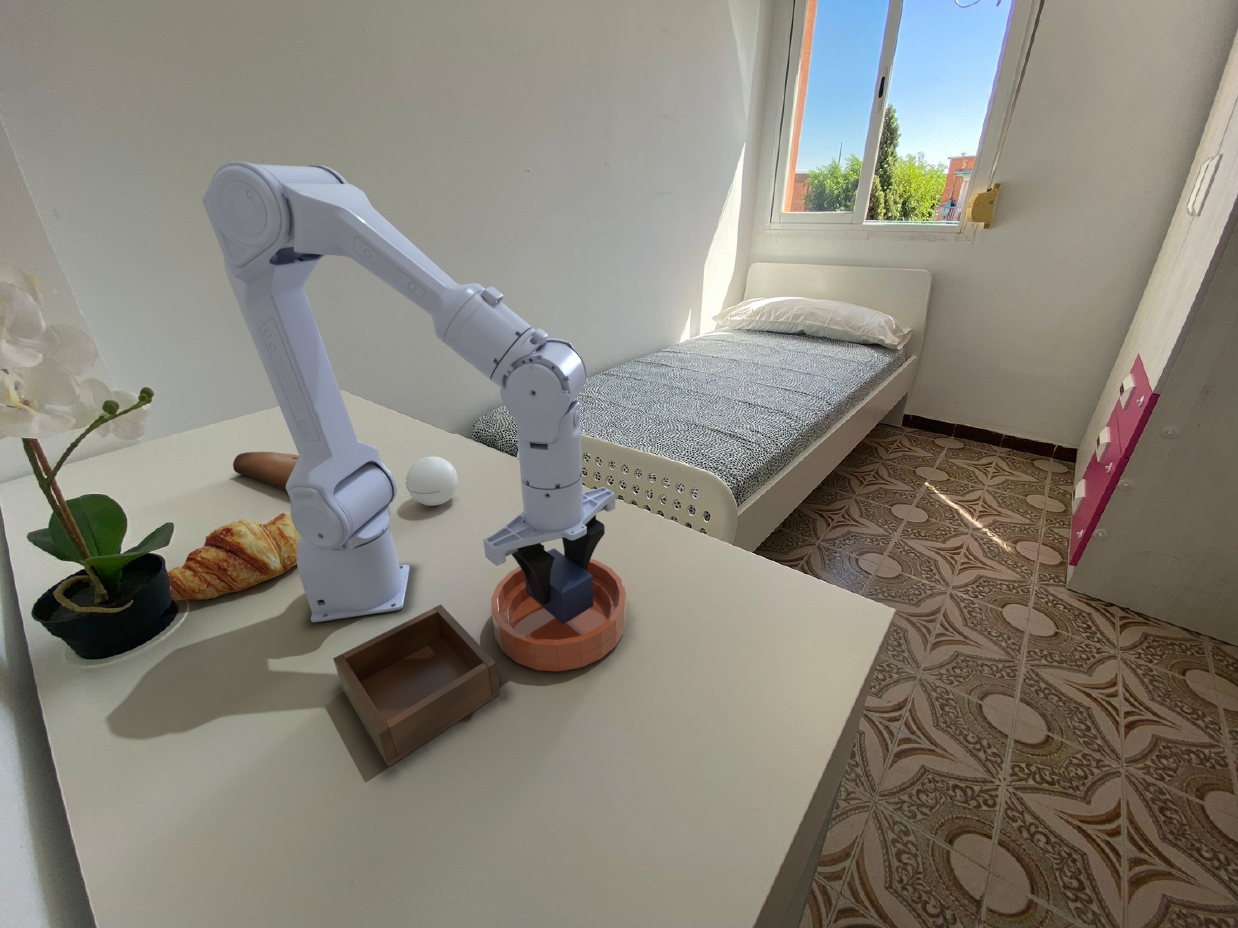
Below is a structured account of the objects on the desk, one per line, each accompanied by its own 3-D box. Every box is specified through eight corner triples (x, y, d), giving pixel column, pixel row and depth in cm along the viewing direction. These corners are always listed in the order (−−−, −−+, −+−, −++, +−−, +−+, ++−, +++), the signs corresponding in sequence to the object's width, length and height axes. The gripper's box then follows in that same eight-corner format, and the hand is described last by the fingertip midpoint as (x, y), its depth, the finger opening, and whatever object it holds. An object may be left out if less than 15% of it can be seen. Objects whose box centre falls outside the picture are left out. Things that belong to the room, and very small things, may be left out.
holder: (388, 767, 45) (378, 733, 43) (343, 689, 52) (332, 658, 50) (500, 694, 51) (496, 662, 49) (446, 633, 58) (440, 603, 56)
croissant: (339, 544, 78) (316, 492, 77) (365, 538, 71) (339, 482, 70) (159, 623, 63) (127, 561, 62) (169, 626, 56) (133, 556, 55)
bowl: (497, 686, 52) (493, 655, 50) (493, 591, 64) (490, 564, 62) (639, 660, 55) (640, 630, 53) (610, 574, 67) (610, 547, 65)
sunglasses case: (352, 476, 88) (324, 453, 83) (324, 513, 85) (293, 491, 80) (283, 454, 96) (254, 431, 91) (255, 486, 93) (223, 464, 87)
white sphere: (441, 485, 87) (434, 443, 84) (471, 500, 83) (465, 457, 79) (383, 511, 80) (373, 466, 77) (412, 529, 76) (403, 482, 72)
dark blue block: (563, 624, 55) (561, 593, 53) (526, 593, 59) (523, 563, 57) (593, 606, 57) (592, 575, 55) (555, 577, 61) (554, 547, 59)
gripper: (508, 520, 44) (522, 645, 50) (636, 465, 53) (634, 576, 59) (465, 488, 49) (482, 606, 55) (589, 442, 57) (592, 548, 64)
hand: (558, 589), depth 57 cm, fingers closed on dark blue block, 4 cm apart
